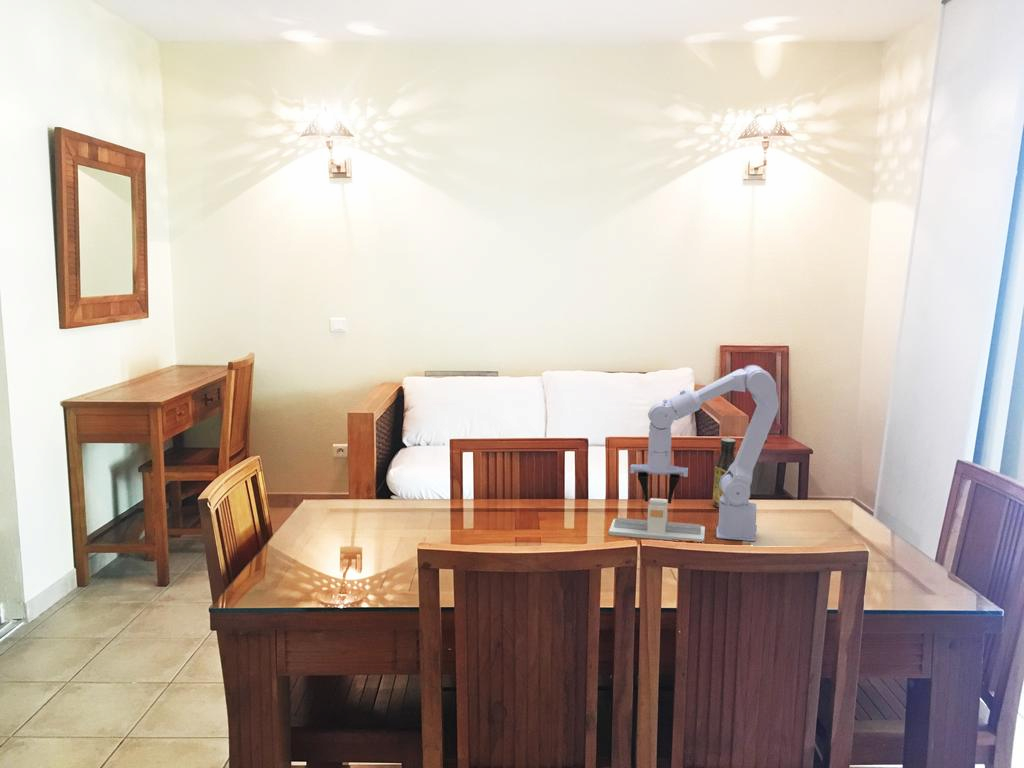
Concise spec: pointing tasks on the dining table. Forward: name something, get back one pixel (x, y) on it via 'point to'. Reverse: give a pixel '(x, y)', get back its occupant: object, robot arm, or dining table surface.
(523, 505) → the dining table surface
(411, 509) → the dining table surface
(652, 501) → the block
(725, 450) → the sauce bottle
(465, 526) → the dining table surface
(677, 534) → the board
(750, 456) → the robot arm
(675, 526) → the metal rail
